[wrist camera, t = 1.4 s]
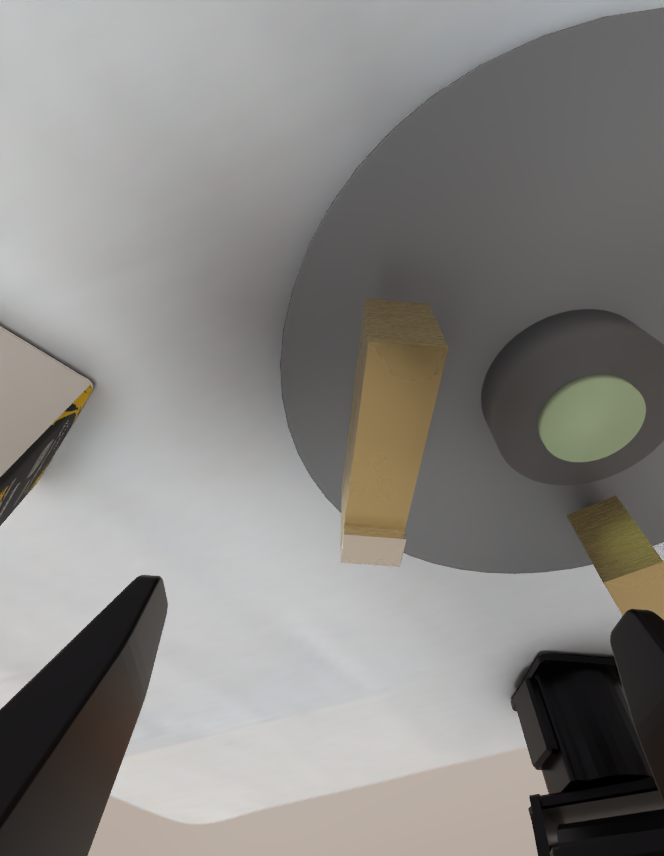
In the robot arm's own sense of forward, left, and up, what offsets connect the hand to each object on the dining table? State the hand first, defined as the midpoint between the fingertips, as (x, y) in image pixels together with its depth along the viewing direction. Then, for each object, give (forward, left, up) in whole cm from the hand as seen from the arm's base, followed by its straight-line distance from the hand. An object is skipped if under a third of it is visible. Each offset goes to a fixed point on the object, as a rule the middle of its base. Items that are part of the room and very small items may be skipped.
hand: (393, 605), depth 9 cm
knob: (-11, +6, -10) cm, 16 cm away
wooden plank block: (0, 0, -10) cm, 10 cm away
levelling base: (-7, 0, -11) cm, 13 cm away
